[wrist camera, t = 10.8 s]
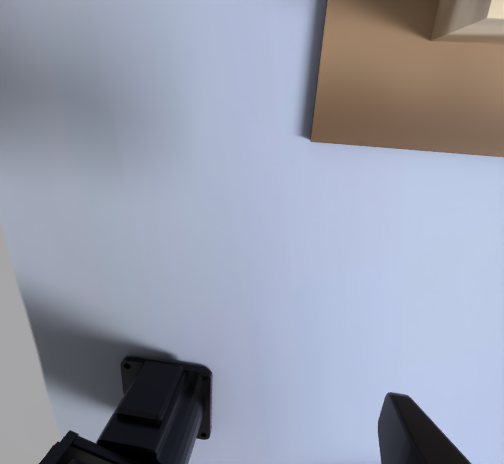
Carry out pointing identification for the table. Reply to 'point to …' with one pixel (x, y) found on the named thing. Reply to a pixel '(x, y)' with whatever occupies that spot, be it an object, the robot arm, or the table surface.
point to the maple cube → (469, 21)
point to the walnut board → (406, 82)
